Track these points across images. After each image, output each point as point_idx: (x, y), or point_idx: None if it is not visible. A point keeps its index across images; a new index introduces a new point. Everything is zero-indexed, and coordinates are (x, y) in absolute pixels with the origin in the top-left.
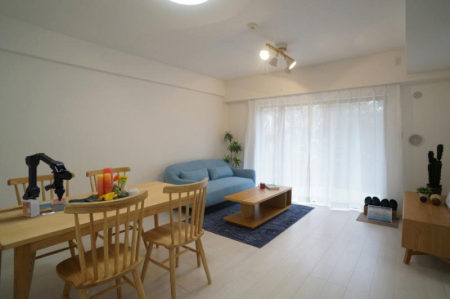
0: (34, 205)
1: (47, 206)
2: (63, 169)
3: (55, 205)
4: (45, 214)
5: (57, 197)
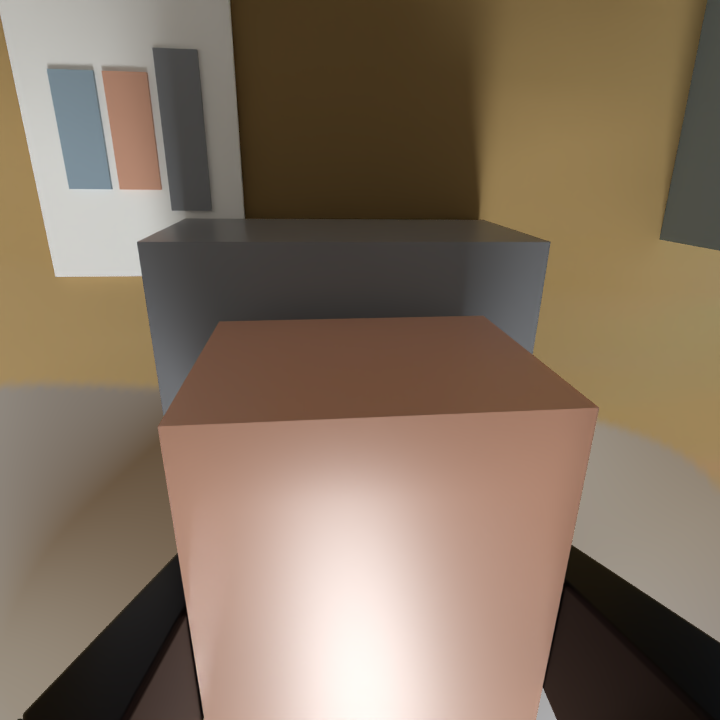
0: None
1: (716, 152)
2: None
3: None
4: (17, 50)
5: (491, 587)
